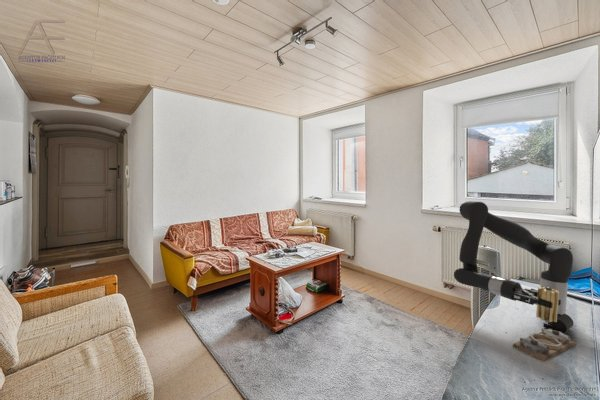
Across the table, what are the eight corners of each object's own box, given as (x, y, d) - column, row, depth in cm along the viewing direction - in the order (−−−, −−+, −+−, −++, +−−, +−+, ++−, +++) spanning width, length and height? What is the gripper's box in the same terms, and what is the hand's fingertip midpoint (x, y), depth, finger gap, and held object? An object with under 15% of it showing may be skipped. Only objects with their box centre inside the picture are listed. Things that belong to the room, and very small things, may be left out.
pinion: (540, 313, 103) (542, 283, 103) (559, 320, 98) (562, 289, 98) (532, 316, 101) (535, 285, 100) (552, 323, 96) (555, 291, 95)
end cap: (566, 338, 105) (567, 322, 105) (542, 330, 111) (543, 314, 111) (573, 332, 111) (574, 316, 110) (550, 324, 117) (551, 309, 116)
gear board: (545, 332, 109) (546, 323, 109) (575, 344, 101) (576, 334, 101) (513, 346, 98) (513, 337, 98) (543, 361, 90) (544, 350, 90)
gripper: (495, 281, 109) (547, 297, 94) (514, 277, 115) (566, 291, 100) (494, 299, 109) (546, 317, 94) (512, 294, 115) (564, 310, 100)
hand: (556, 304), depth 97 cm, fingers closed on pinion, 5 cm apart
